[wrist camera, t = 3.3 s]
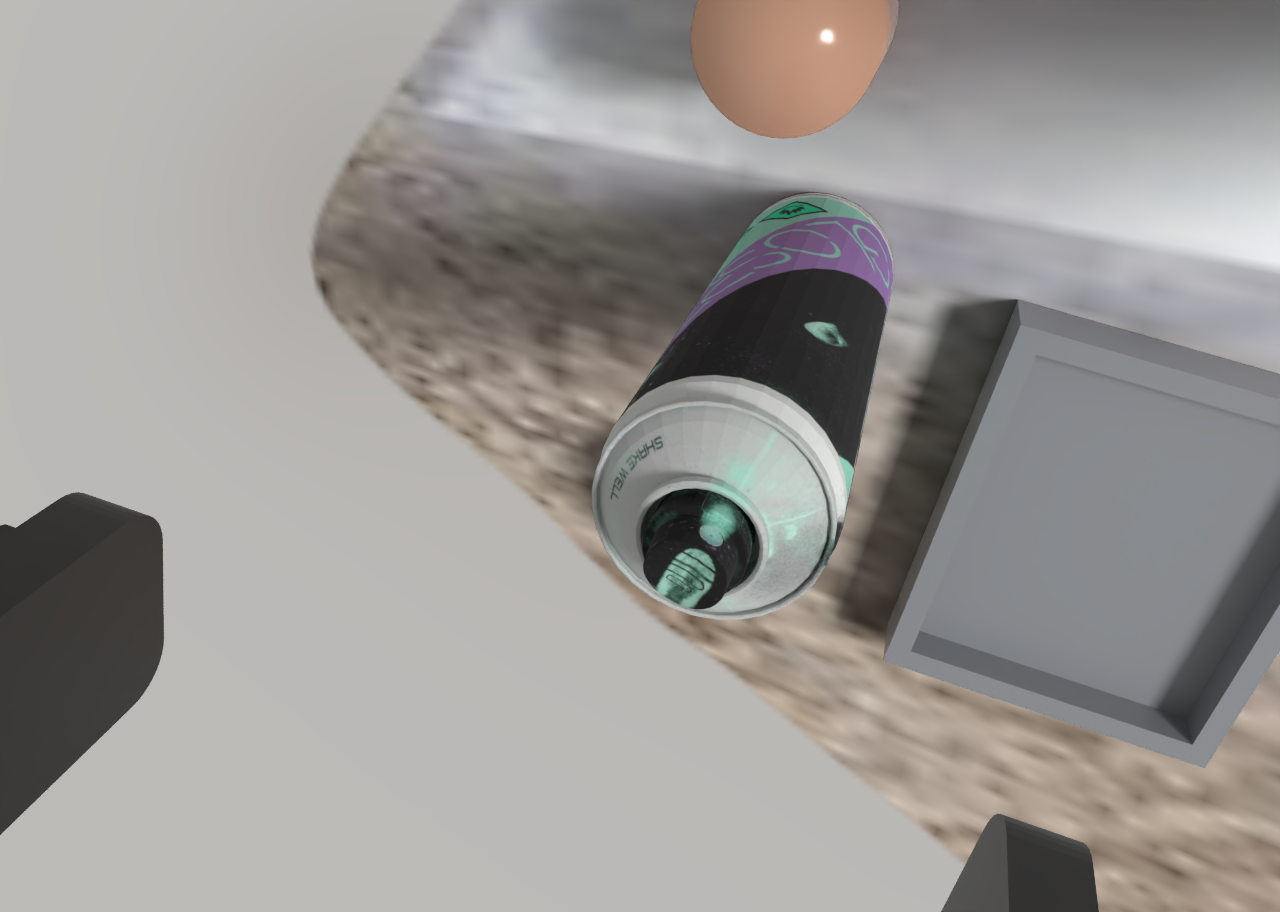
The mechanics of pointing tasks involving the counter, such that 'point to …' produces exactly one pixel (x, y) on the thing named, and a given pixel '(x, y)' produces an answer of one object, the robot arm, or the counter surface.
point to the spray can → (752, 418)
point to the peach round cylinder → (789, 59)
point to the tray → (1105, 537)
